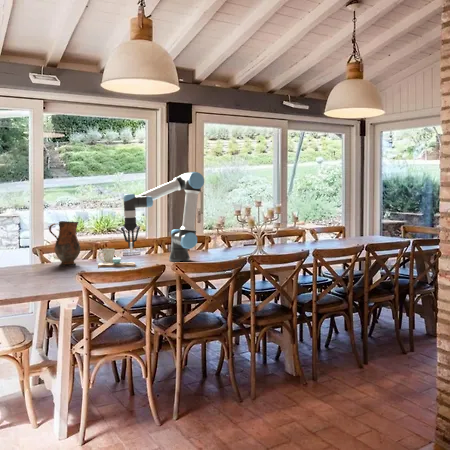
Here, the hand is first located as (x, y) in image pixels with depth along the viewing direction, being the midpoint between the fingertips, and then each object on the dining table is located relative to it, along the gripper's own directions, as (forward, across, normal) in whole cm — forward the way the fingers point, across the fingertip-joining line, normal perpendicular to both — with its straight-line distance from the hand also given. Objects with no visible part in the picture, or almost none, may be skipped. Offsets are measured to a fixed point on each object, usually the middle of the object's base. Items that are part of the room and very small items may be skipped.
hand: (131, 251), depth 339 cm
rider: (+9, +10, 0) cm, 13 cm away
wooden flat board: (+10, +10, 0) cm, 14 cm away
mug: (+10, +19, -19) cm, 29 cm away
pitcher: (+9, +46, -13) cm, 49 cm away
